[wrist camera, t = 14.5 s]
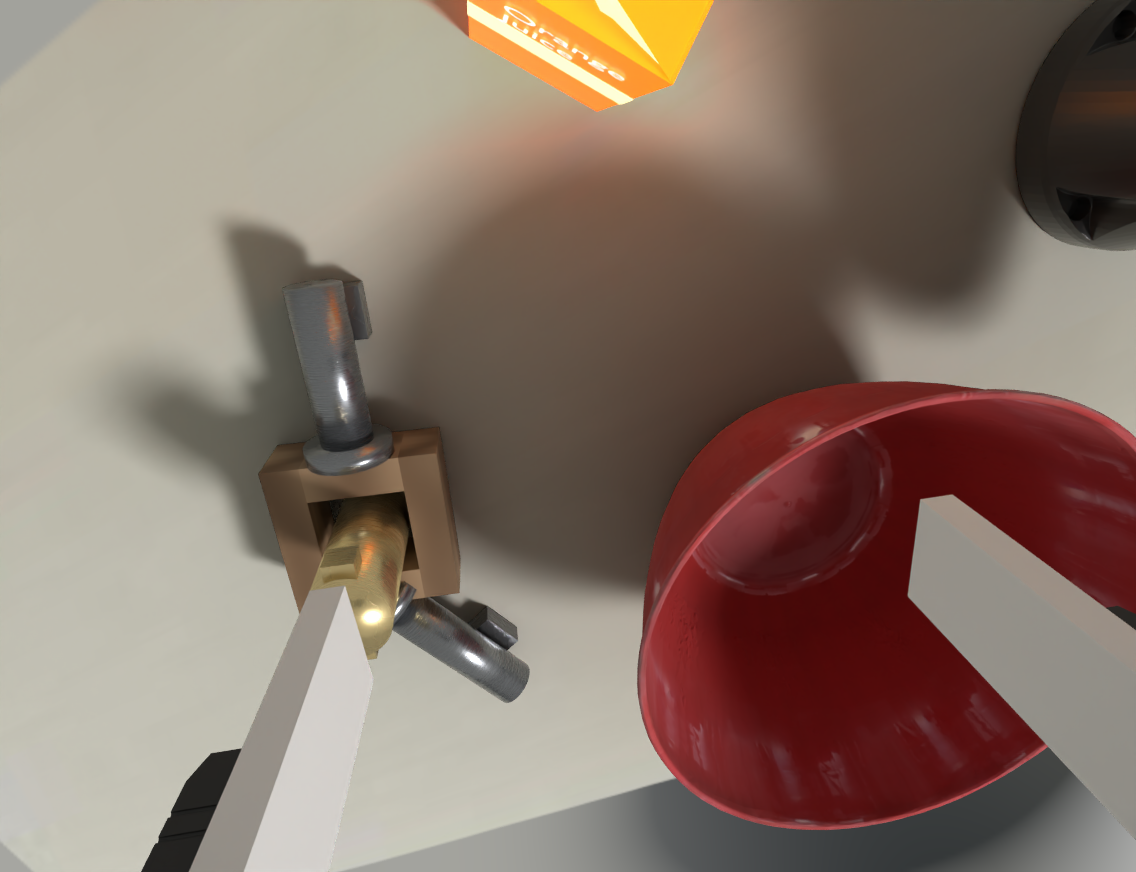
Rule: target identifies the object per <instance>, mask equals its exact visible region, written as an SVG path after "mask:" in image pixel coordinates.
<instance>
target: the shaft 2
mask: <svg viewBox="0 0 1136 872" xmlns="http://www.w3.org/2000/svg"><path fill="white" fill-rule="evenodd" d="M416 590H417V589H415V588H414V587H412V586H411V585H410V584H408V583H407V582H405V581H404V582H403V583H402V584H401V585H400V587H399V593H398V599H397V605H396V611H395V616H394V622H393V628H392V630H393V631H395V632H396V633H398V634H399V635H401V636H403V637H404V638H406V639H407V640H409V641H410V642H412V643H413V644H415V645H416V646H418V647H420V648H421V649H423V650H424V651H426V652H427V653H429V654H430V655H432V656H433V657H435V658H436V659H438V660H440V661H441V662H443V663H444V664H446V665H447V666H449V667H450V668H452V669H453V670H455V671H457V672H458V673H460V674H461V675H463V676H464V677H466V678H467V679H469V680H470V681H472V682H474V683H475V684H477V685H478V686H480V687H481V688H483V689H484V690H486V691H487V692H489V693H491V694H492V695H494V696H495V697H497V698H498V699H500V700H501V701H503V702H505V703H509V702H512V701H513V700H515V699H516V698H517V697H518V696H519V695H520V694H521V693H522V691H523V690H524V688H525V686H526V684H527V682H528V678H529V666H528V665H527V664H526V663H524V662H523V661H521V660H520V659H519V658H517V657H516V656H514V655H513V654H511V653H510V652H508V651H507V650H508V649H509V648H510V647H511V646H513V645H514V644H515V643H516V642H517V641H518V636H517V627H516V626H515V625H513V624H512V623H510V622H509V621H508V620H506V619H505V618H503V617H502V616H501V615H499V614H498V613H496V612H495V611H494V610H492V609H491V608H489V607H488V606H487V607H486V608H485V609H483V610H482V611H481V612H480V613H479V614H478V615H477V616H476V617H475V618H473V619H472V620H471V621H470V622H469V623H466V622H465V621H464V620H462V619H461V618H459V617H458V616H456V615H455V614H453V613H452V612H450V611H449V610H448V609H446V608H445V607H443V606H442V605H440V604H439V603H437V602H436V601H435V600H433V599H432V598H430V597H426V598H419V599H412V598H413V597H414V595H415V593H416Z"/></svg>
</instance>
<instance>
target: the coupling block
mask: <svg viewBox="0 0 1136 872" xmlns="http://www.w3.org/2000/svg"><path fill="white" fill-rule="evenodd" d="M391 433H392V438H393V443H394V448H395V451H394V453H393V455H392V456H391V457H390V458H389V459H388V460H387V461H385V462H384V463H382V464H380V465H378V466H376V467H374V468H371V469H369V470H366V471H363V472H359V473H355V474H350V475H342V476H323V475H317V474H314V473H312V472H310V471H309V470H308V469H307V466H306V462H305V458H304V454H303V446H304V445H305V443H306V442H302V443H293V444H284V445H277V447H276V448H275V450H274V451H273V453H272V454H271V456H270V457H269V459H268V460H267V462H266V463H265V465H264V466H263V468H262V469H261V471H260V472H259V474H258V475H259V479H260V482H261V485H262V489H263V492H264V495H265V499H266V502H267V506H268V509H269V512H270V516H271V519H272V522H273V526H274V529H275V533H276V536H277V539H278V543H279V546H280V549H281V553H282V556H283V560H284V563H285V566H286V570H287V573H288V576H289V580H290V583H291V587H292V590H293V593H294V597H295V600H296V603H297V607H298V610H299V614H300V612H301V610H302V608H303V605H304V603H305V601H306V598H307V596H308V594H309V591H310V589H311V586H312V584H313V581H314V578H315V576H316V573H317V570H318V568H319V565H320V562H321V560H322V557H323V554H324V551H325V549H326V546H327V543H328V541H329V538H330V535H331V533H332V530H333V527H334V525H335V524H334V520H333V516H332V512H331V508H330V504H329V500H336V499H344V498H352V497H360V496H368V495H377V494H385V493H393V492H401V491H404V492H405V497H406V502H407V508H408V513H409V518H410V523H411V528H412V533H413V537H408V540H407V546H406V551H405V557H404V563H403V569H402V575H401V581H400V585H401V584H402V583H403V582H404V581H405V582H407V583H408V584H410V585H411V586H412V587H414V588H415V589H417V590H416V593H415V595H414V597H413V598H412V599H419V598H426V597H433V596H440V595H448V594H455V593H459V592H460V551H459V545H458V539H457V533H456V527H455V521H454V514H453V508H452V502H451V496H450V490H449V483H448V477H447V471H446V465H445V459H444V452H443V446H442V440H441V434H440V428H439V427H434V428H425V429H417V430H408V431H399V432H391Z"/></svg>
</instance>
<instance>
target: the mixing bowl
mask: <svg viewBox="0 0 1136 872" xmlns="http://www.w3.org/2000/svg"><path fill="white" fill-rule="evenodd" d="M946 495H954V496H955V497H956V498H958V499H959V500H960V501H962V502H963V503H965V504H966V505H967V506H969V507H970V508H971V509H973V510H974V511H975V512H977V513H978V514H979V515H981V516H982V517H983V518H985V519H986V520H988V521H989V522H990V523H992V524H993V525H994V526H996V527H997V528H998V529H1000V530H1001V531H1002V532H1004V533H1005V534H1006V535H1008V536H1009V537H1010V538H1012V539H1013V540H1015V541H1016V542H1017V543H1019V544H1020V545H1021V546H1023V547H1024V548H1025V549H1027V550H1028V551H1029V552H1031V553H1032V554H1033V555H1035V556H1036V557H1037V558H1039V559H1040V560H1042V561H1043V562H1044V563H1046V564H1047V565H1048V566H1050V567H1051V568H1052V569H1054V570H1055V571H1056V572H1058V573H1059V574H1060V575H1062V576H1063V577H1065V578H1066V579H1067V580H1069V581H1070V582H1071V583H1073V584H1074V585H1075V586H1077V587H1078V588H1079V589H1081V590H1082V591H1083V592H1085V593H1086V594H1087V595H1089V596H1090V597H1092V598H1093V599H1094V600H1096V601H1097V602H1098V603H1100V604H1101V605H1102V606H1104V607H1105V608H1107V607H1113V606H1120V607H1122V608H1124V609H1126V610H1128V611H1131V612H1133V613H1135V614H1136V438H1135V437H1134V436H1133V435H1132V434H1131V433H1130V432H1129V431H1128V430H1126V429H1125V428H1124V427H1122V426H1121V425H1120V424H1118V423H1117V422H1115V421H1114V420H1112V419H1110V418H1109V417H1107V416H1105V415H1104V414H1102V413H1100V412H1098V411H1096V410H1094V409H1091V408H1089V407H1087V406H1084V405H1082V404H1080V403H1077V402H1074V401H1070V400H1067V399H1064V398H1061V397H1057V396H1052V395H1048V394H1044V393H1036V392H1027V391H1019V390H999V389H987V390H984V389H977V388H969V387H961V386H954V385H948V384H938V383H923V382H908V381H901V382H865V383H848V384H839V385H832V386H827V387H822V388H817V389H812V390H808V391H804V392H800V393H796V394H792V395H788V396H785V397H782V398H779V399H776V400H774V401H772V402H769V403H767V404H765V405H763V406H761V407H758V408H756V409H754V410H752V411H750V412H748V413H746V414H745V415H743V416H742V417H740V418H739V419H737V420H736V421H734V422H733V423H732V424H730V425H729V426H727V427H726V428H724V429H723V430H722V431H721V432H720V433H718V434H717V435H716V436H715V437H714V438H713V439H712V440H711V441H710V442H709V443H708V444H707V445H706V446H705V447H704V448H703V449H702V450H701V451H700V452H699V453H698V455H697V456H696V457H695V458H694V460H693V461H692V462H691V464H690V465H689V466H688V468H687V469H686V471H685V472H684V474H683V475H682V477H681V478H680V480H679V482H678V484H677V486H676V488H675V490H674V491H673V494H672V496H671V498H670V501H669V503H668V505H667V508H666V510H665V512H664V515H663V517H662V520H661V522H660V525H659V528H658V532H657V535H656V538H655V542H654V546H653V551H652V555H651V560H650V565H649V570H648V576H647V582H646V589H645V597H644V609H643V632H642V640H641V645H640V651H639V659H638V674H637V687H638V698H639V704H640V710H641V714H642V719H643V722H644V725H645V728H646V731H647V734H648V737H649V739H650V741H651V743H652V745H653V747H654V749H655V751H656V752H657V754H658V755H659V757H660V758H661V760H662V761H663V763H664V764H665V765H666V766H667V768H668V769H669V770H670V771H671V773H672V774H673V775H674V776H675V777H676V778H677V779H678V780H679V781H680V782H681V783H682V784H683V785H684V786H685V787H686V788H687V789H688V790H689V791H691V792H692V793H694V794H695V795H696V796H698V797H699V798H701V799H702V800H704V801H706V802H707V803H709V804H711V805H713V806H715V807H716V808H718V809H720V810H722V811H725V812H727V813H729V814H732V815H735V816H737V817H740V818H742V819H745V820H749V821H752V822H756V823H760V824H765V825H769V826H774V827H783V828H791V829H809V830H830V829H845V828H854V827H863V826H868V825H874V824H879V823H885V822H889V821H894V820H898V819H901V818H905V817H908V816H912V815H916V814H919V813H922V812H925V811H928V810H931V809H934V808H937V807H940V806H942V805H944V804H947V803H950V802H952V801H955V800H957V799H959V798H962V797H964V796H966V795H968V794H970V793H972V792H975V791H976V790H978V789H980V788H982V787H984V786H986V785H988V784H990V783H992V782H993V781H995V780H997V779H999V778H1001V777H1003V776H1004V775H1006V774H1008V773H1009V772H1011V771H1013V770H1014V769H1016V768H1017V767H1019V766H1020V765H1022V764H1023V763H1025V762H1026V761H1028V760H1029V759H1031V758H1032V757H1034V756H1035V755H1037V754H1038V753H1040V752H1041V751H1043V750H1044V749H1045V748H1046V747H1048V746H1047V745H1046V744H1045V742H1044V741H1043V740H1042V739H1041V738H1040V737H1039V736H1038V735H1037V734H1036V733H1035V732H1034V731H1033V730H1032V729H1031V728H1030V726H1029V725H1028V724H1027V723H1026V722H1025V721H1024V720H1023V719H1022V718H1021V717H1020V716H1019V715H1018V714H1017V713H1016V712H1015V710H1014V709H1013V708H1012V707H1011V706H1010V705H1009V704H1008V703H1007V702H1006V701H1005V700H1004V699H1003V698H1002V697H1001V695H1000V694H999V693H998V692H997V691H996V690H995V689H994V688H993V687H992V686H991V685H990V684H989V683H988V682H987V681H986V679H985V678H984V677H983V676H982V675H981V674H980V673H979V672H978V671H977V670H976V669H975V668H974V667H973V666H972V665H971V663H970V662H969V661H968V660H967V659H966V658H965V657H964V656H963V655H962V654H961V653H960V652H959V651H958V650H957V648H956V647H955V646H954V645H953V644H952V643H951V642H950V641H949V640H948V639H947V638H946V637H945V636H944V635H943V634H942V632H941V631H940V630H939V629H938V628H937V627H936V626H935V625H934V624H933V623H932V622H931V621H930V620H929V619H928V617H927V616H926V615H925V614H924V613H923V612H922V611H921V610H920V609H919V608H918V607H917V606H916V605H915V604H914V603H913V601H912V600H911V599H910V598H909V597H908V589H909V582H910V574H911V567H912V559H913V551H914V544H915V536H916V529H917V521H918V514H919V506H920V499H926V498H932V497H939V496H946Z"/></svg>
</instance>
